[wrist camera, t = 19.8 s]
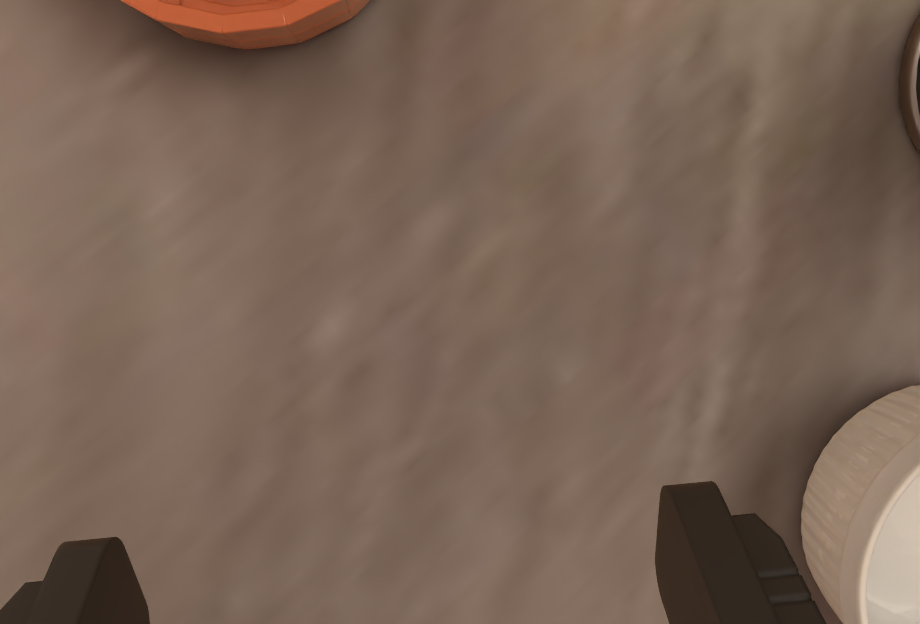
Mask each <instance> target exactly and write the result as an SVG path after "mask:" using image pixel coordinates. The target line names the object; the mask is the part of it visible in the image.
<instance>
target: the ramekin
mask: <svg viewBox="0 0 920 624" xmlns="http://www.w3.org/2000/svg"><path fill="white" fill-rule="evenodd" d="M801 520H802V523H801V535H802V537H803V542H802V545H803V550H804V552H805V555H806V562H807V565H808V567H809V569H810V571H811V573H812V576H813V578H814V580H815V582H816V583H817V585H818V587H819V589H820V591H821V592H822V594H823V596H824V598H825V599H826V601H827V602H828V604H829V605H830V607H831V608H832V609H833V611H834V612H835V613H836V615H837V616H838V618H839V619H840V620H841V622H842V623H843V624H920V385H917V386H909V387H907V388H904V389H902V390H899V391H895V392H892V393H890V394H888V395H886V396H884V397H883V398H880V399H878V400H876V401H874V402H873V403H871V404H870V405H869V406H867V407H866V408H864V409H862V410H861V411H859V412H858V413H857V414H855V415H854V416H853V417H852V418H851V419H850V420H848V421H847V422H846V423H845V424H844V425H843V426H842V427H841V429H840V430H839V431H838V432H837V433H836V434H835V435H833V437H832V438H831V440H830V442H829V443H828V444H827V445H826V447H825V448H824V449H823V451H822V453H821V455H820V457H819V459H818V460H817V462H816V463H815V465H814V468H813V471H812V473H811V476H810V477H809V479H808V482H807V488H806V491H805V494H804V497H803V508H802V512H801Z"/></svg>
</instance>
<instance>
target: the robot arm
mask: <svg viewBox="0 0 920 624" xmlns="http://www.w3.org/2000/svg"><path fill="white" fill-rule="evenodd" d="M899 92H900V103H901V109H902V114H903V118H904V122H905V125H906V128H907V130H908V133H909V135H910V137H911V139H912V141H913V143H914V145H915V147H916V148H917V150H918V151H919V153H920V15H919V17H918V19H917V21H916V23H915V24H914V27H913V29H912V31H911V33H910V35H909V38H908V41H907V44H906V46H905V50H904V54H903V58H902V63H901V69H900V81H899ZM655 565H656V575H657V582H658V587H659V592H660V595H661V599H662V602H663V605H664V608H665V611H666V614H667V617H668V620H669V623H670V624H826V623H825V621H824V619H823V617H822V615H821V613H820V611H819V609H818V607H817V605H816V603H815V601H812V599H811V593H810V591H809V589H808V588H807V586H806V584H805V582H804V580H803V578H802V576H801V575H800V576H799V573H798V568H797V566H796V564H795V562H794V560H793V558H792V556H791V554H790V552H789V551H788V549H787V547H786V545H785V543H784V541H783V539H782V538H781V537H780V536H779V535H778V534H777V533H776V532H775V531H773V530H772V529H771V528H770V527H769V526H768V525H767V524H766V523H765V522H764V521H762V520H761V519H760V518H759V517H758V516H757V515H756V514H755V513H754V514H744V515H734V516H731V514H730V512H729V509H728V507H727V505H726V503H725V501H724V499H723V496H722V494H721V492H720V490H719V488H718V486H717V485H716V484H715V483H714V482H713V481H709V482H698V483H688V484H678V485H667V486H663V487H662V489H661V492H660V503H659V515H658V527H657V540H656V552H655ZM0 624H150V621H149V611H148V607H147V603H146V600H145V598H144V595H143V593H142V590H141V588H140V585H139V582H138V580H137V577H136V575H135V572H134V570H133V567H132V565H131V562H130V559H129V557H128V554H127V552H126V549H125V547H124V544H123V542H122V541H121V540H120V539H119V538H117V537H110V538H100V539H90V540H79V541H69V542H64V543H62V544H61V545H60V546H59V548H58V549H57V551H56V553H55V555H54V557H53V559H52V562H51V564H50V566H49V569H48V571H47V573H46V576H45V578H44V580H43V581H38V582H28V583H25V584H24V585H23V586H22V587H21V588H20V589H19V590H18V591H17V592H16V594H15V595H14V596H13V597H12V598H11V599H10V600H9V601H8V602H7V603H6V604H5V606H4V607H3V608H2V609H1V610H0Z"/></svg>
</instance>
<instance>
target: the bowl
mask: <svg viewBox="0 0 920 624" xmlns="http://www.w3.org/2000/svg"><path fill="white" fill-rule="evenodd" d="M120 1H122V2H123V3H125V4H127V5H129V6H130V7H132V8H134V9H136V10H138V11H139V12H141V13H143V14H145V15H147V16H148V17H150V18H152V19H154V20H156V21H157V22H159V23H161V24H163V25H165V26H166V27H168V28H170V29H172V30H174V31H175V32H177V33H179V34H181V35H183V36H184V37H188V38H190V39H194V40H199V41H204V42H209V43H214V44H219V45H224V46H229V47H234V48H239V49H255V48H263V47H272V46H280V45H288V44H297V43H300V41H301V42H304V41H306V40H308V39H310V38H312V37H314V36H316V35H318V34H320V33H323V32H325V31H327V30H329V29H331V28H333V27H335V26H337V25H339V24H341V23H343V22H345V21H348V20H349V19H350V17H351V18H352V17H354V16H355V15H356V14H357V13H358V12H359V11H360V10H361V9H362V8H363V7H364V6H365V5H366V4H367V3H368V2H369V1H370V0H120Z"/></svg>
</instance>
